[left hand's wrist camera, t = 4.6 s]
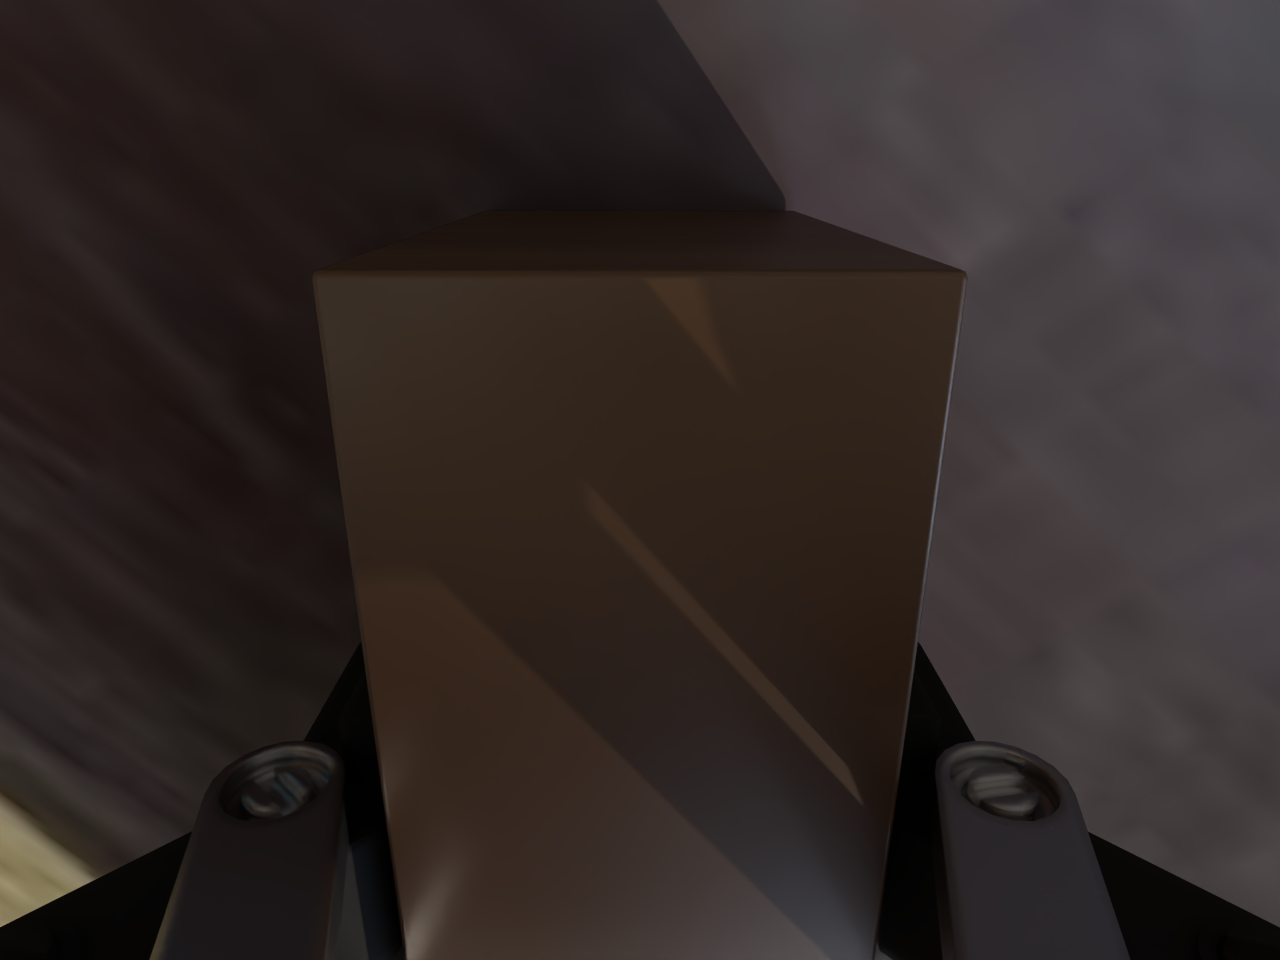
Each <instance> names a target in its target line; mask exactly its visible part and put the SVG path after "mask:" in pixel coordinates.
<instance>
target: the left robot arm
mask: <svg viewBox="0 0 1280 960" xmlns="http://www.w3.org/2000/svg"><path fill="white" fill-rule="evenodd" d="M0 960H405V957H404V950H403V943H402V935H401V928H400V921H399V913H398V906H397V899H396V891H395V884H394V877H393V869H392V862H391V855H390V847H389V840H388V833H387V825H386V818H385V811H384V803H383V796H382V789H381V781H380V774H379V767H378V759H377V752H376V745H375V737H374V730H373V723H372V715H371V708H370V701H369V693H368V686H367V679H366V671H365V664H364V657H363V649H362V642H361V643H360V644H359V645H358V647H357V649H356V650H355V652H354V654H353V656H352V657H351V659H350V661H349V663H348V664H347V666H346V668H345V670H344V671H343V673H342V675H341V677H340V678H339V680H338V682H337V684H336V685H335V687H334V689H333V691H332V692H331V694H330V696H329V698H328V699H327V701H326V703H325V705H324V706H323V708H322V710H321V712H320V713H319V715H318V717H317V719H316V720H315V722H314V724H313V725H312V727H311V729H310V731H309V732H308V734H307V736H306V738H305V739H304V741H293V742H283V743H278V744H274V745H270V746H266V747H263V748H260V749H258V750H256V751H253V752H251V753H248V754H246V755H244V756H242V757H241V758H239V759H237V760H236V761H234V762H233V763H231V764H230V765H228V766H226V767H225V768H224V769H223V770H222V771H221V772H220V773H219V774H218V775H217V776H216V777H215V778H214V779H213V780H212V782H211V784H210V786H209V787H208V789H207V791H206V793H205V795H204V798H203V801H202V804H201V807H200V810H199V813H198V816H197V819H196V822H195V825H194V828H193V831H192V832H190V833H188V834H186V835H184V836H182V837H180V838H178V839H176V840H174V841H172V842H170V843H168V844H166V845H164V846H162V847H160V848H158V849H156V850H154V851H152V852H150V853H148V854H146V855H144V856H142V857H140V858H138V859H136V860H134V861H132V862H130V863H128V864H126V865H124V866H122V867H120V868H118V869H116V870H114V871H112V872H110V873H108V874H106V875H104V876H102V877H100V878H98V879H96V880H94V881H92V882H90V883H88V884H86V885H84V886H82V887H80V888H78V889H76V890H74V891H72V892H70V893H68V894H66V895H64V896H62V897H60V898H58V899H56V900H54V901H52V902H50V903H48V904H46V905H44V906H42V907H40V908H38V909H36V910H34V911H32V912H30V913H28V914H26V915H24V916H22V917H20V918H18V919H16V920H14V921H12V922H10V923H8V924H6V925H4V926H2V927H0ZM874 960H1280V927H1278V926H1276V925H1274V924H1272V923H1270V922H1268V921H1266V920H1264V919H1262V918H1260V917H1258V916H1256V915H1254V914H1252V913H1250V912H1248V911H1246V910H1244V909H1242V908H1240V907H1238V906H1236V905H1234V904H1232V903H1230V902H1228V901H1226V900H1224V899H1222V898H1220V897H1218V896H1216V895H1214V894H1212V893H1210V892H1208V891H1206V890H1204V889H1202V888H1200V887H1198V886H1196V885H1194V884H1192V883H1190V882H1188V881H1186V880H1184V879H1182V878H1180V877H1178V876H1176V875H1174V874H1172V873H1170V872H1168V871H1166V870H1164V869H1162V868H1160V867H1158V866H1156V865H1154V864H1152V863H1150V862H1148V861H1146V860H1144V859H1142V858H1140V857H1138V856H1136V855H1134V854H1132V853H1130V852H1128V851H1126V850H1124V849H1122V848H1120V847H1118V846H1116V845H1114V844H1112V843H1110V842H1108V841H1106V840H1104V839H1102V838H1100V837H1098V836H1096V835H1094V834H1092V833H1090V832H1088V831H1087V828H1086V825H1085V822H1084V819H1083V816H1082V813H1081V810H1080V807H1079V804H1078V801H1077V798H1076V795H1075V793H1074V791H1073V789H1072V787H1071V786H1070V784H1069V782H1068V780H1067V779H1066V778H1065V777H1064V776H1063V775H1062V774H1061V773H1060V772H1059V771H1058V770H1057V769H1056V768H1055V767H1054V766H1052V765H1050V764H1049V763H1047V762H1046V761H1044V760H1043V759H1041V758H1039V757H1038V756H1036V755H1034V754H1032V753H1029V752H1027V751H1024V750H1022V749H1020V748H1017V747H1014V746H1010V745H1006V744H1002V743H997V742H987V741H975V739H974V737H973V735H972V734H971V732H970V730H969V728H968V727H967V725H966V723H965V721H964V720H963V718H962V716H961V714H960V713H959V711H958V709H957V707H956V706H955V704H954V702H953V701H952V699H951V697H950V695H949V694H948V692H947V690H946V688H945V687H944V685H943V683H942V681H941V680H940V678H939V676H938V674H937V673H936V671H935V669H934V667H933V666H932V664H931V662H930V660H929V659H928V657H927V655H926V653H925V652H924V650H923V648H922V646H921V645H920V644H919V642H918V644H917V651H916V659H915V666H914V673H913V681H912V688H911V695H910V703H909V710H908V717H907V725H906V732H905V739H904V747H903V754H902V761H901V768H900V776H899V783H898V790H897V798H896V805H895V812H894V820H893V827H892V834H891V842H890V849H889V856H888V863H887V871H886V878H885V885H884V893H883V900H882V907H881V915H880V922H879V929H878V937H877V944H876V951H875V958H874Z"/></svg>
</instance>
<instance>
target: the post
mask: <svg viewBox="0 0 1280 960" xmlns="http://www.w3.org/2000/svg"><path fill="white" fill-rule="evenodd" d="M312 283H313V290H314V297H315V305H316V312H317V319H318V327H319V334H320V341H321V349H322V356H323V363H324V371H325V378H326V385H327V393H328V400H329V407H330V415H331V422H332V429H333V437H334V444H335V451H336V459H337V466H338V473H339V481H340V488H341V495H342V503H343V510H344V517H345V525H346V532H347V539H348V547H349V554H350V561H351V569H352V576H353V583H354V591H355V598H356V605H357V613H358V620H359V627H360V635H361V642H362V649H363V657H364V664H365V671H366V679H367V686H368V693H369V701H370V708H371V715H372V723H373V730H374V737H375V745H376V752H377V759H378V767H379V774H380V781H381V789H382V796H383V803H384V811H385V818H386V825H387V833H388V840H389V847H390V855H391V862H392V869H393V877H394V884H395V891H396V899H397V906H398V913H399V921H400V928H401V935H402V943H403V950H404V957H405V960H874V958H875V951H876V944H877V937H878V929H879V922H880V915H881V907H882V900H883V893H884V885H885V878H886V871H887V863H888V856H889V849H890V842H891V834H892V827H893V820H894V812H895V805H896V798H897V790H898V783H899V776H900V768H901V761H902V754H903V747H904V739H905V732H906V725H907V717H908V710H909V703H910V695H911V688H912V681H913V673H914V666H915V659H916V651H917V644H918V637H919V630H920V622H921V615H922V608H923V600H924V593H925V586H926V578H927V571H928V564H929V556H930V549H931V542H932V535H933V527H934V520H935V513H936V505H937V498H938V491H939V483H940V476H941V469H942V461H943V454H944V447H945V439H946V432H947V425H948V418H949V410H950V403H951V396H952V388H953V381H954V374H955V366H956V359H957V352H958V344H959V337H960V330H961V323H962V315H963V308H964V301H965V293H966V286H967V275H966V272H965V271H962V270H960V269H957V268H955V267H952V266H949V265H946V264H943V263H940V262H937V261H935V260H932V259H929V258H926V257H923V256H920V255H918V254H915V253H912V252H909V251H906V250H903V249H900V248H898V247H895V246H892V245H889V244H886V243H883V242H881V241H878V240H875V239H872V238H869V237H866V236H863V235H861V234H858V233H855V232H852V231H849V230H846V229H843V228H841V227H838V226H835V225H832V224H829V223H826V222H824V221H821V220H818V219H815V218H812V217H809V216H806V215H804V214H801V213H798V212H795V211H484V212H481V213H478V214H476V215H473V216H470V217H467V218H464V219H461V220H458V221H456V222H453V223H450V224H447V225H444V226H441V227H438V228H436V229H433V230H430V231H427V232H424V233H421V234H419V235H416V236H413V237H410V238H407V239H404V240H401V241H399V242H396V243H393V244H390V245H387V246H384V247H381V248H379V249H376V250H373V251H370V252H367V253H364V254H361V255H359V256H356V257H353V258H350V259H347V260H344V261H341V262H339V263H336V264H333V265H330V266H327V267H324V268H321V269H319V270H317V271H314V273H313V276H312Z"/></svg>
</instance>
